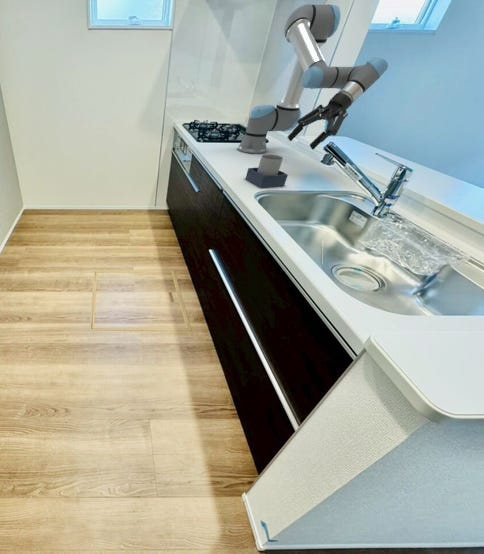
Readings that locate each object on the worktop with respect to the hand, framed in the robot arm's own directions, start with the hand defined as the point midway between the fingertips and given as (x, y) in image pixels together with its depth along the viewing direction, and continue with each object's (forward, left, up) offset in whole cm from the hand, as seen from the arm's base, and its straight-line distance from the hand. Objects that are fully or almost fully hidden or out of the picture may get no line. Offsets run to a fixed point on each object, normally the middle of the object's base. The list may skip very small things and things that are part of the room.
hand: (299, 143), depth 127 cm
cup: (+1, -12, -15) cm, 19 cm away
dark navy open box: (+1, -12, -16) cm, 20 cm away
